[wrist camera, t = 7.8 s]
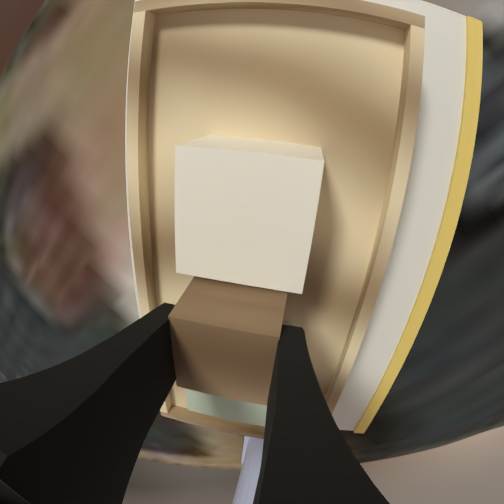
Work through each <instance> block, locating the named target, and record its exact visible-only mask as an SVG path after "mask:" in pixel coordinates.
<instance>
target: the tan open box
mask: <svg viewBox="0 0 504 504" xmlns="http://www.w3.org/2000/svg"><path fill="white" fill-rule="evenodd" d="M424 41H425V16H423V15H419V14H416V13H413V12H409V11H406V10H402V9H398V8H394V7H390V6H386V5H382V4H377V3H373V2H368V1H363V0H140V1H135V7H134V15H133V24H132V33H131V43H130V56H129V70H128V90H127V177H128V198H129V214H130V227H131V238H132V249H133V258H134V267H135V276H136V283H137V291H138V298H139V305H140V312H141V317H143V316H144V315H146V314H147V313H149V312H150V311H152V310H153V309H155V308H156V307H158V306H160V305H161V304H163V303H164V302H165V303H170V304H174V305H175V306H174V308H173V309H172V311H171V312H170V314H169V316H168V319H169V324H170V333H171V342H172V351H173V359H174V367H175V374H176V381H175V383H174V385H173V386H172V388H171V390H170V392H169V394H168V396H167V398H166V400H165V402H164V403H163V405H162V407H161V409H160V412H161V415H162V416H165V417H168V418H172V419H175V420H179V421H182V422H186V423H190V424H194V425H198V426H202V427H206V428H210V429H214V430H219V431H223V432H228V433H233V434H238V435H243V436H248V437H253V438H259V439H264V432H265V427H264V426H258V425H253V424H247V423H242V422H237V421H232V420H228V419H223V418H218V417H214V416H210V415H206V414H201V413H197V412H193V411H190V410H188V405H187V397H186V389H190V390H194V391H198V392H202V393H206V394H210V395H215V396H219V397H224V398H229V399H234V400H239V401H244V402H249V403H255V404H261V405H266V406H267V400H268V395H269V389H270V384H271V378H272V373H273V367H274V362H275V356H276V350H277V344H278V340H279V339H280V334H281V328H282V324H283V322H285V323H291V324H292V326H297V327H302V328H303V329H304V331H305V337H306V343H307V347H308V351H309V355H310V359H311V362H312V365H313V369H314V371H315V374H316V377H317V380H318V383H319V386H320V388H321V391H322V393H323V396H324V398H325V400H326V403H327V405H328V407H329V410H330V412H331V414H332V413H333V411H334V409H335V406H336V404H337V402H338V400H339V397H340V395H341V393H342V390H343V388H344V386H345V383H346V381H347V379H348V376H349V374H350V371H351V369H352V366H353V364H354V361H355V359H356V356H357V354H358V351H359V348H360V346H361V343H362V340H363V338H364V335H365V332H366V329H367V326H368V324H369V321H370V318H371V315H372V312H373V309H374V306H375V303H376V300H377V297H378V294H379V290H380V287H381V284H382V281H383V277H384V274H385V271H386V267H387V264H388V260H389V257H390V253H391V249H392V246H393V242H394V238H395V234H396V230H397V226H398V222H399V218H400V214H401V209H402V205H403V200H404V196H405V191H406V186H407V181H408V176H409V171H410V165H411V160H412V154H413V148H414V142H415V135H416V128H417V121H418V113H419V105H420V96H421V86H422V75H423V61H424ZM207 135H216V136H229V137H241V138H252V139H261V140H271V141H279V142H287V143H295V144H302V145H309V146H316V147H321V149H322V153H323V158H324V168H323V175H322V181H321V188H320V195H319V201H318V207H317V214H316V220H315V226H314V232H313V237H312V243H311V249H310V254H309V260H308V265H307V271H306V276H305V281H304V287H303V292H302V294H298V293H292V292H285V291H279V290H273V289H267V288H261V287H254V286H249V285H243V284H237V283H231V282H225V281H219V280H214V279H208V278H202V277H197V276H191V275H186V274H181V273H176V256H175V146H176V145H179V144H182V143H185V142H188V141H191V140H194V139H197V138H201V137H204V136H207Z"/></svg>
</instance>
